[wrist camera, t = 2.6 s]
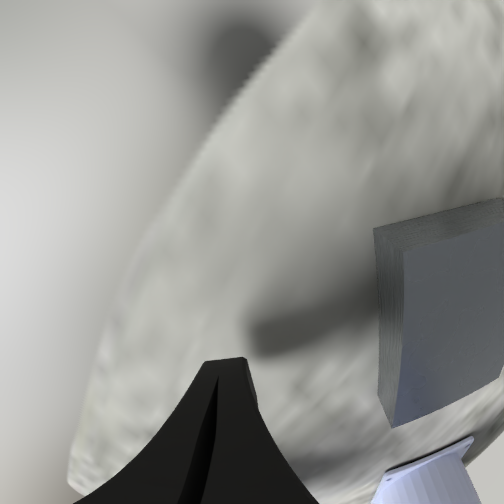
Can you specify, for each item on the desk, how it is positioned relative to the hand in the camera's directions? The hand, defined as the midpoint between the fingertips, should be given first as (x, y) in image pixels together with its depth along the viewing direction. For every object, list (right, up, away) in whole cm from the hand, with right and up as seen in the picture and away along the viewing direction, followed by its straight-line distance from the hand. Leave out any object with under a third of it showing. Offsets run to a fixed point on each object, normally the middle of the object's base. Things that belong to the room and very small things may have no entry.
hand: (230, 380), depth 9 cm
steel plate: (+8, +2, +1) cm, 9 cm away
